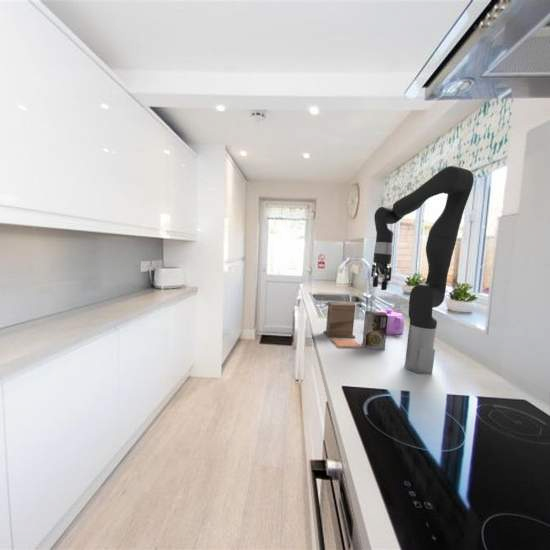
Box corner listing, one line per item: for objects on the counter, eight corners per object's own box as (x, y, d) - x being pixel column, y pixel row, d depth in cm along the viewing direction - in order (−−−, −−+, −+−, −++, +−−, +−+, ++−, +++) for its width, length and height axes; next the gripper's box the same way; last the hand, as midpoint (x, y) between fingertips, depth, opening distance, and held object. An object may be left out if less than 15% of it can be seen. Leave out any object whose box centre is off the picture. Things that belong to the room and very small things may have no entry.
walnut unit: (354, 338, 151) (358, 305, 149) (327, 337, 149) (330, 304, 147) (349, 333, 159) (352, 302, 157) (323, 332, 157) (326, 301, 155)
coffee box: (381, 345, 142) (385, 312, 141) (384, 350, 136) (388, 315, 134) (361, 343, 143) (365, 310, 141) (364, 348, 137) (367, 313, 135)
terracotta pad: (361, 348, 136) (362, 346, 136) (338, 347, 135) (338, 346, 135) (352, 340, 147) (352, 338, 147) (331, 339, 146) (331, 338, 146)
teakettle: (403, 337, 158) (406, 314, 156) (369, 332, 164) (372, 310, 163) (403, 329, 173) (405, 308, 172) (372, 325, 180) (374, 304, 178)
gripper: (368, 251, 141) (364, 285, 143) (382, 252, 127) (378, 290, 129) (383, 252, 142) (379, 286, 144) (399, 254, 128) (395, 291, 130)
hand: (379, 288), depth 137 cm, fingers open, 8 cm apart
